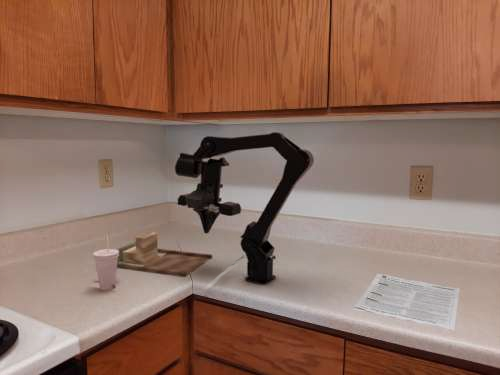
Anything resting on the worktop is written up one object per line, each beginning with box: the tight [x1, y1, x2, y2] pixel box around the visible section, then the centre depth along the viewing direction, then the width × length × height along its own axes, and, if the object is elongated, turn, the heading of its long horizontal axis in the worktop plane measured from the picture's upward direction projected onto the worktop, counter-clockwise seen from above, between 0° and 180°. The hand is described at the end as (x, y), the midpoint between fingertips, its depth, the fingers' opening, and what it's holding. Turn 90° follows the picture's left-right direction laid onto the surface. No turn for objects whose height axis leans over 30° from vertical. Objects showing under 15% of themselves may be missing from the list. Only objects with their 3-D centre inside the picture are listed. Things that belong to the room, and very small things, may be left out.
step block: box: [122, 231, 159, 264], centre depth 114 cm, size 8×7×8 cm
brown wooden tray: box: [116, 240, 213, 278], centre depth 112 cm, size 26×18×6 cm
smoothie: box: [92, 235, 119, 292], centre depth 95 cm, size 6×6×14 cm
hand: (206, 232), depth 106 cm, fingers closed
